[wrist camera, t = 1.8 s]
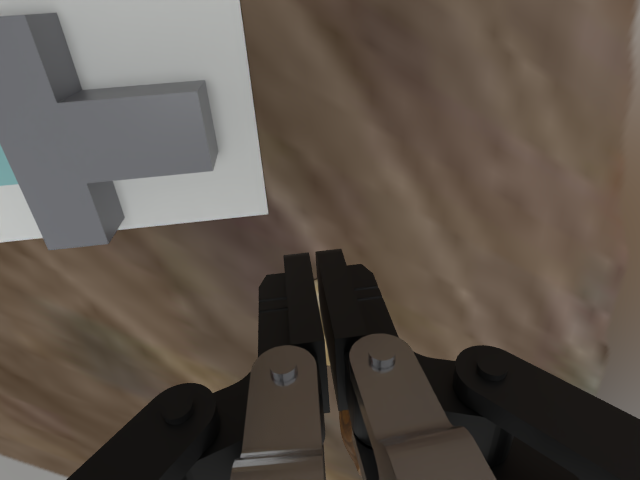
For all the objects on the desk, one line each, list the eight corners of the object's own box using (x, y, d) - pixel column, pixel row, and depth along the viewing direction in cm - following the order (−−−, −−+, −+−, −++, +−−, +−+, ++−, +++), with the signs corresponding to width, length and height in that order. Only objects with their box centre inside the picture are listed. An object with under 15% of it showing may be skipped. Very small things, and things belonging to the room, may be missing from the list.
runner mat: (-290, -6, 23) (-297, -6, 23) (234, -38, 25) (234, -39, 25) (-113, 252, 32) (-116, 254, 32) (268, 212, 34) (268, 214, 34)
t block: (-13, 17, 25) (-57, 20, 22) (190, 3, 26) (179, 4, 22) (71, 223, 32) (48, 250, 29) (228, 206, 33) (224, 231, 30)
